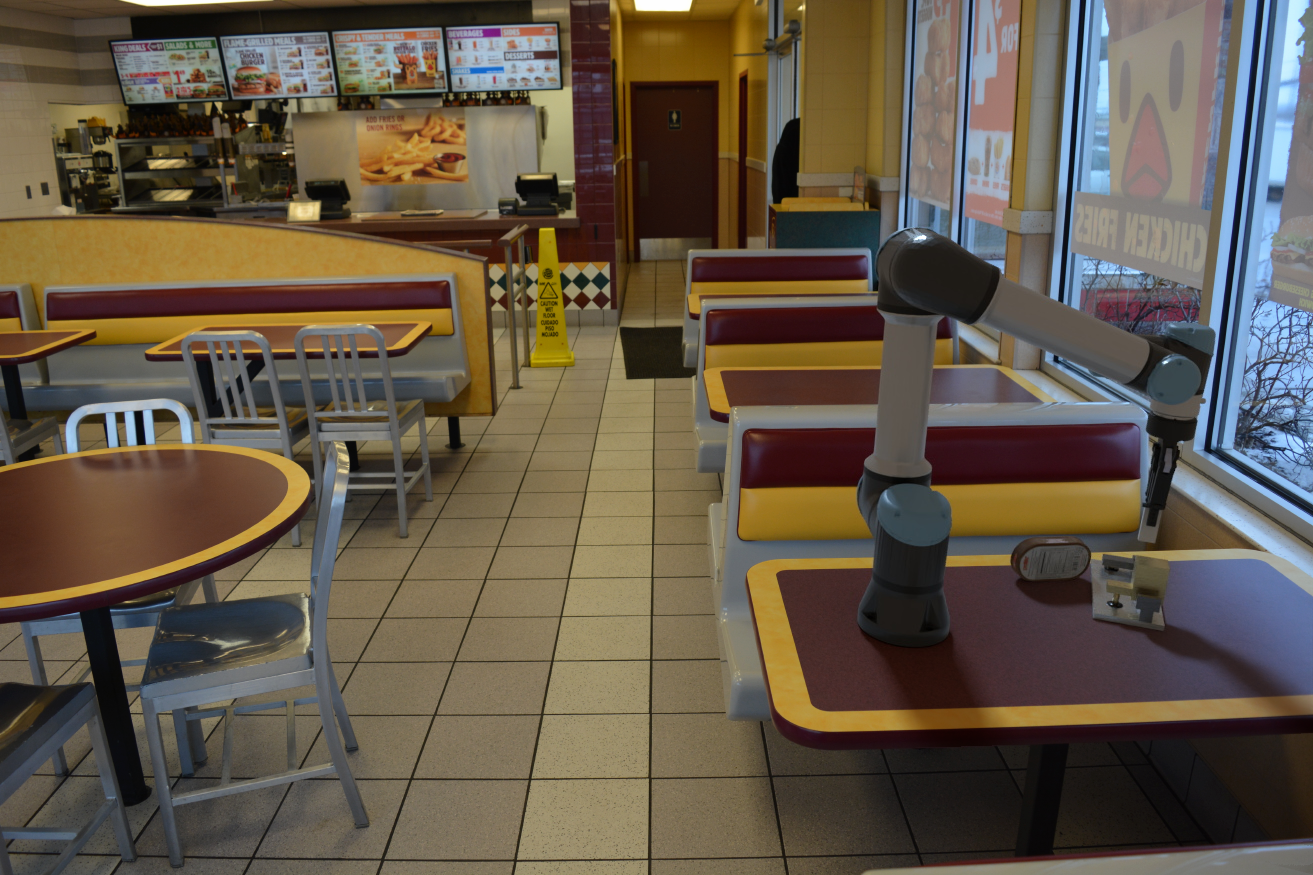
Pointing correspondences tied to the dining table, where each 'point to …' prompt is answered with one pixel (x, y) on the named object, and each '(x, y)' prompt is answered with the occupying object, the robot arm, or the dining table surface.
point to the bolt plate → (1126, 607)
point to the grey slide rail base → (1143, 602)
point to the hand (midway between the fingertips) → (1146, 540)
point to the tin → (1050, 558)
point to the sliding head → (1142, 580)
